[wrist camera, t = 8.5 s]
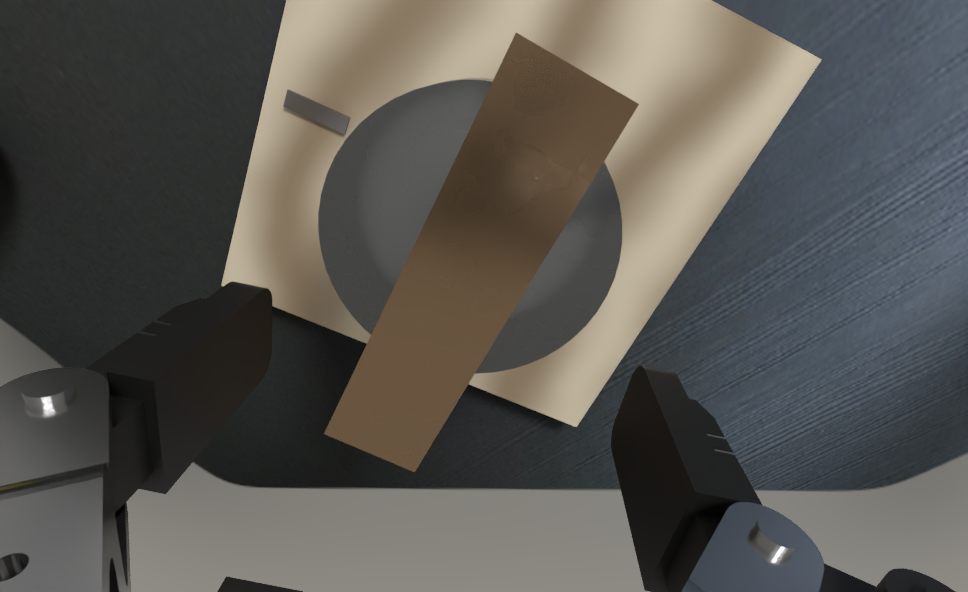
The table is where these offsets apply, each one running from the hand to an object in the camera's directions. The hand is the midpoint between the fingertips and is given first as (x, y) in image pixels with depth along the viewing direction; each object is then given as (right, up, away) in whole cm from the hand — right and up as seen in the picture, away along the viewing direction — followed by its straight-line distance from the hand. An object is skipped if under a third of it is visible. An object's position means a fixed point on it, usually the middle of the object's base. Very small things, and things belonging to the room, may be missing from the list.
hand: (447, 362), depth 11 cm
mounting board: (+1, +7, +15) cm, 17 cm away
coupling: (+1, +7, +13) cm, 15 cm away
